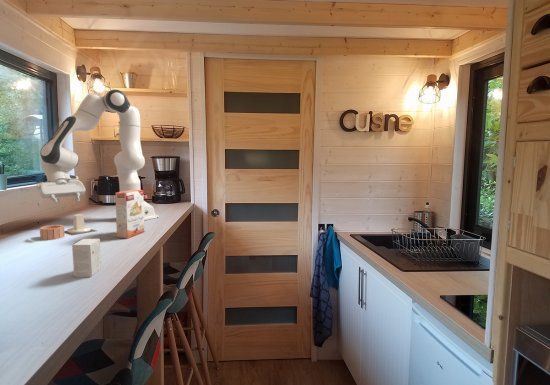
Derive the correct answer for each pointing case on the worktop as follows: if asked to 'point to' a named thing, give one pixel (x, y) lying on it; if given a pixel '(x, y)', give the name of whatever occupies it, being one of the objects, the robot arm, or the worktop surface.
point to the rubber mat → (80, 233)
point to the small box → (86, 257)
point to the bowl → (52, 232)
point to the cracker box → (129, 213)
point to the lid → (78, 225)
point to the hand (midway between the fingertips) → (68, 201)
